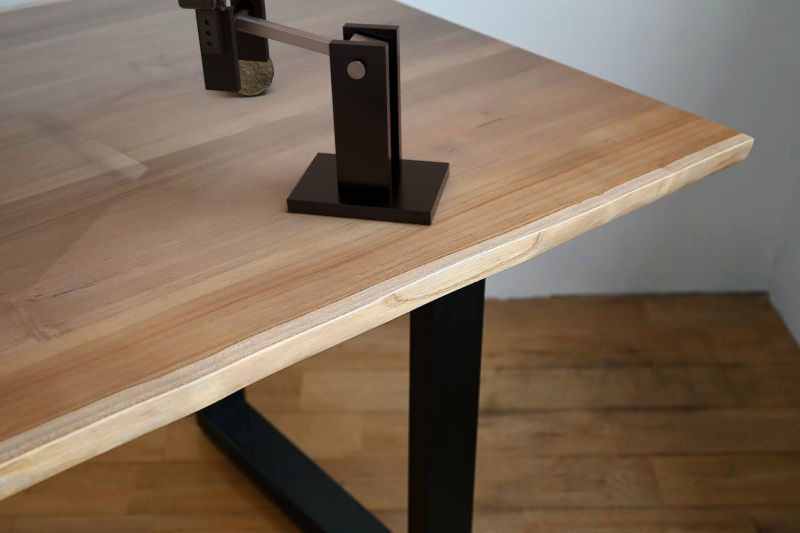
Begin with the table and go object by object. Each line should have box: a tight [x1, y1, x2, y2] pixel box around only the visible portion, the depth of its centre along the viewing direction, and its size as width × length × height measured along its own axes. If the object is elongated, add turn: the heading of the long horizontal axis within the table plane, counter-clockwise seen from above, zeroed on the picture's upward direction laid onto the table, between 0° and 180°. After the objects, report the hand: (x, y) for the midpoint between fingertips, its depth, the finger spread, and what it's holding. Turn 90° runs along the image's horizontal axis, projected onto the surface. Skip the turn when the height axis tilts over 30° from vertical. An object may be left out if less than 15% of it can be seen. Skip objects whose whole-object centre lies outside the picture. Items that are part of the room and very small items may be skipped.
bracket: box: [286, 22, 450, 226], centre depth 74 cm, size 12×9×14 cm
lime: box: [238, 57, 275, 96], centre depth 96 cm, size 4×5×5 cm
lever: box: [233, 0, 384, 56], centre depth 71 cm, size 13×6×2 cm, turn 78°
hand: (238, 73), depth 74 cm, fingers closed on lever, 6 cm apart
